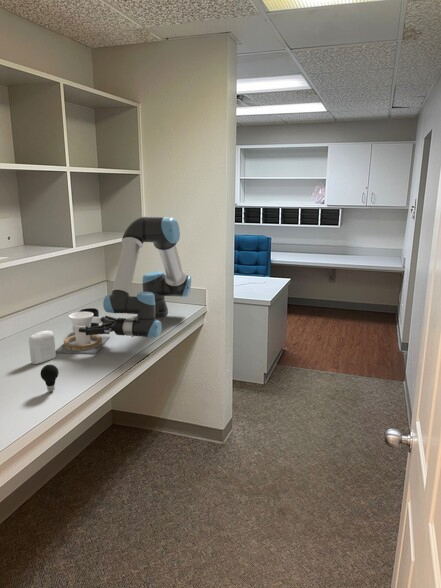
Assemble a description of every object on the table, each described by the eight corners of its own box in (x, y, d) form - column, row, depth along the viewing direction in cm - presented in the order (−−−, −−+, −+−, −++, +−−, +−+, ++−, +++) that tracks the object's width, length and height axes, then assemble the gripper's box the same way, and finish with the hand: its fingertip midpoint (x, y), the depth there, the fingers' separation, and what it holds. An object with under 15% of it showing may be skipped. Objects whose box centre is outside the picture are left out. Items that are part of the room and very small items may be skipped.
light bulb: (49, 386, 160) (47, 361, 157) (63, 389, 158) (61, 363, 156) (38, 394, 154) (35, 367, 152) (53, 396, 153) (50, 369, 150)
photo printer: (51, 355, 188) (49, 327, 185) (57, 357, 186) (55, 329, 183) (29, 363, 180) (26, 334, 177) (35, 365, 178) (32, 336, 175)
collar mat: (72, 336, 210) (72, 335, 210) (109, 337, 209) (109, 336, 209) (54, 352, 191) (54, 351, 191) (95, 354, 190) (95, 352, 190)
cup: (89, 348, 194) (86, 319, 191) (66, 347, 196) (64, 317, 192) (99, 340, 204) (97, 312, 201) (78, 339, 206) (75, 311, 202)
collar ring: (72, 337, 208) (72, 333, 208) (106, 338, 207) (106, 334, 207) (58, 349, 193) (58, 345, 192) (94, 350, 192) (94, 346, 191)
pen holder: (75, 331, 218) (74, 312, 215) (89, 326, 226) (88, 307, 223) (90, 334, 213) (88, 314, 211) (103, 329, 222) (102, 309, 219)
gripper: (114, 345, 183) (66, 341, 187) (136, 326, 206) (94, 323, 210) (113, 327, 181) (65, 324, 185) (135, 310, 204) (93, 308, 208)
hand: (80, 324), depth 197 cm, fingers open, 13 cm apart
